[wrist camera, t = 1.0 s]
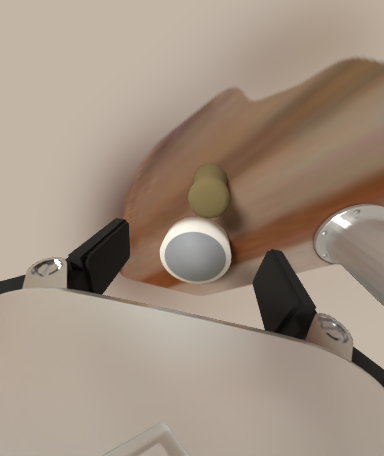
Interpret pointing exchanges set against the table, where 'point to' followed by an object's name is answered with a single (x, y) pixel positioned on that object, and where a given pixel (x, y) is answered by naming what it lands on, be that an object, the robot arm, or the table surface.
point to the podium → (196, 250)
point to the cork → (209, 191)
